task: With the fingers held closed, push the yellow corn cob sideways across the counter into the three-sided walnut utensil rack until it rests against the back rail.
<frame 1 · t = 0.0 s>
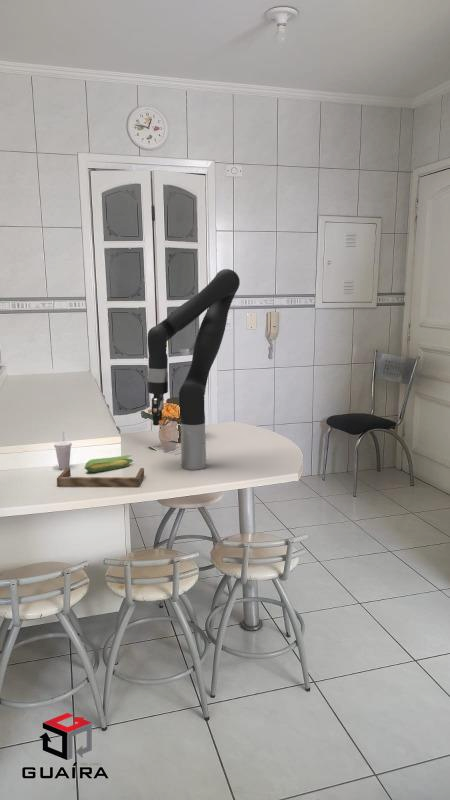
hand: (157, 422, 210), 17 cm above the breakfast bar, tool pointing down, fingers open, 8 cm apart
wooden container: (182, 439, 254), on the breakfast bar
smoothie: (64, 468, 212), on the breakfast bar
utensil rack: (101, 481, 196), on the breakfast bar
edible corn: (110, 469, 211), on the breakfast bar
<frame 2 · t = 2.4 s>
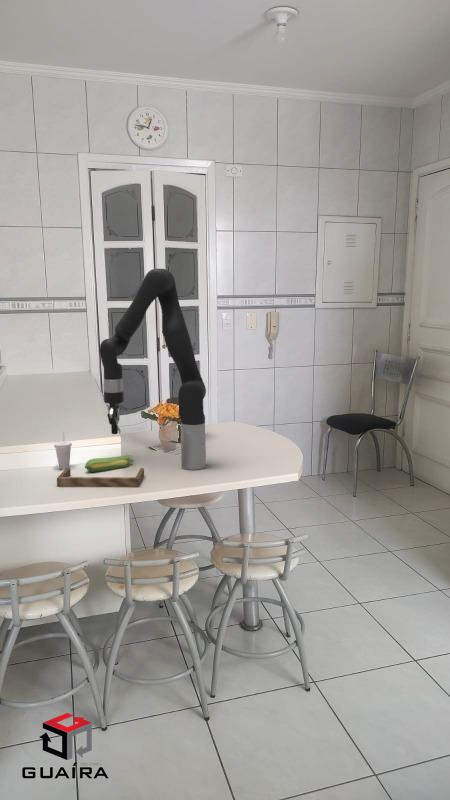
hand: (114, 433, 218), 11 cm above the breakfast bar, tool pointing down, fingers closed
nothing on the breakfast bar moved.
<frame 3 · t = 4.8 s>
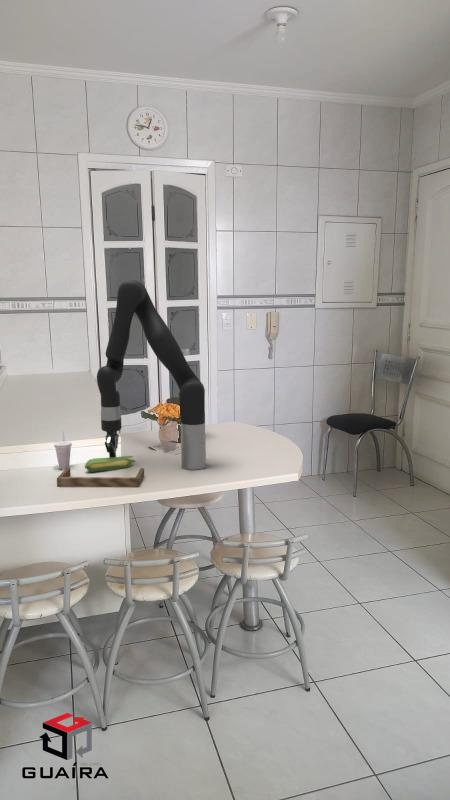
hand: (112, 461, 214), 2 cm above the breakfast bar, tool pointing down, fingers closed
edible corn: (111, 469, 211), on the breakfast bar, touching gripper
everything else where it was.
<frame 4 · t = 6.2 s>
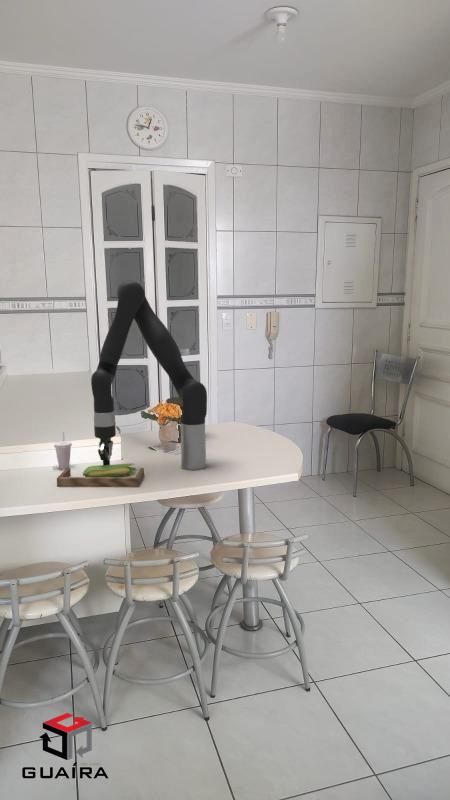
hand: (106, 469, 205), 2 cm above the breakfast bar, tool pointing down, fingers closed
edible corn: (111, 477, 201), on the breakfast bar
everything else where it was.
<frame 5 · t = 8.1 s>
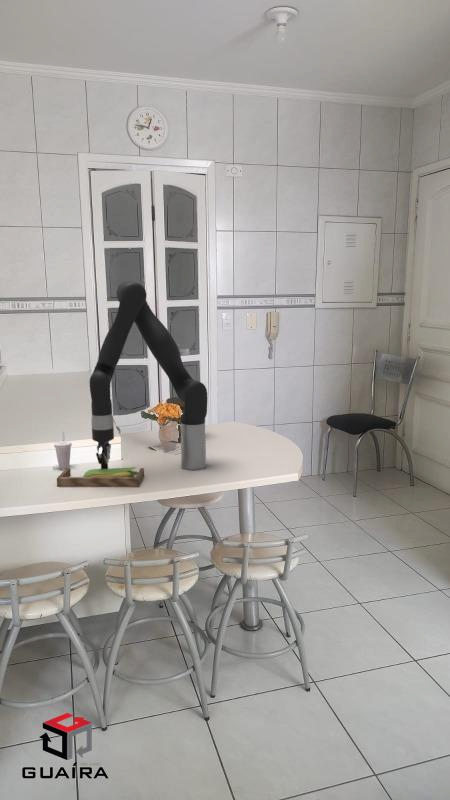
hand: (104, 473, 200), 1 cm above the breakfast bar, tool pointing down, fingers closed
edible corn: (112, 481, 197), on the breakfast bar
everything else where it was.
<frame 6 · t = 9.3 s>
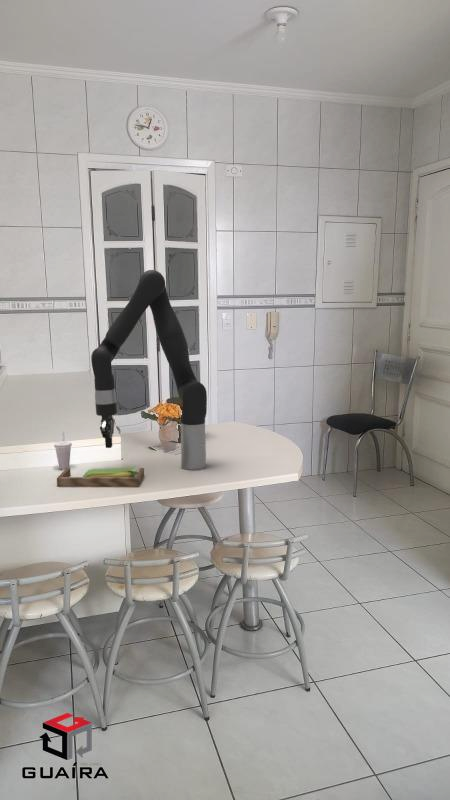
hand: (109, 447, 206), 9 cm above the breakfast bar, tool pointing down, fingers closed
nothing on the breakfast bar moved.
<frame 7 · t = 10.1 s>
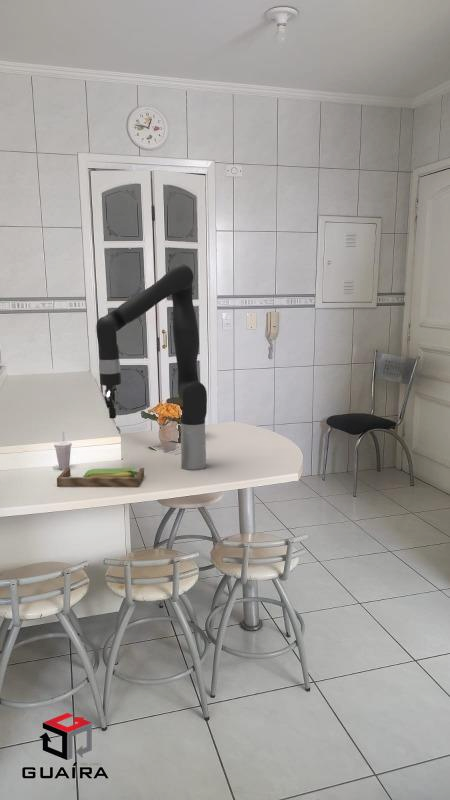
hand: (112, 417, 206), 20 cm above the breakfast bar, tool pointing down, fingers closed
nothing on the breakfast bar moved.
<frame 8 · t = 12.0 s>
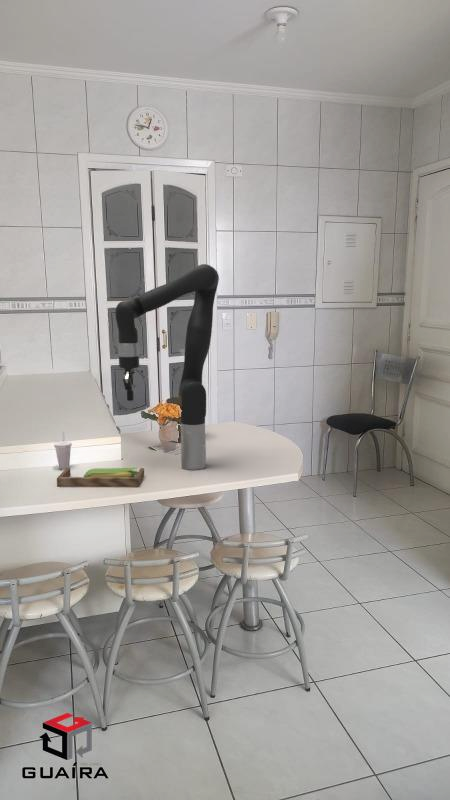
hand: (130, 400, 213), 25 cm above the breakfast bar, tool pointing down, fingers closed
nothing on the breakfast bar moved.
at the end: edible corn inside the target area (4.0 cm from its centre), on the breakfast bar; the gripper is holding nothing; smoothie moved 0.2 cm from its start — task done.
